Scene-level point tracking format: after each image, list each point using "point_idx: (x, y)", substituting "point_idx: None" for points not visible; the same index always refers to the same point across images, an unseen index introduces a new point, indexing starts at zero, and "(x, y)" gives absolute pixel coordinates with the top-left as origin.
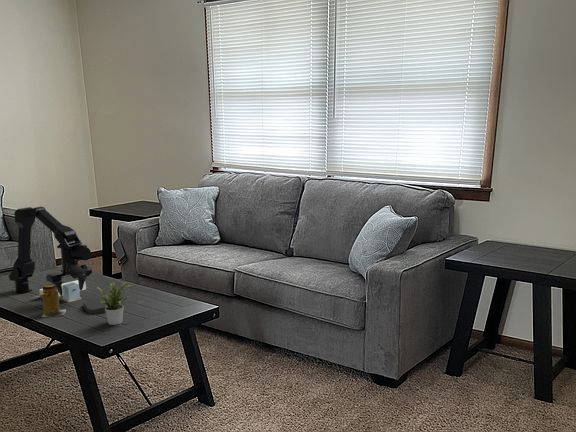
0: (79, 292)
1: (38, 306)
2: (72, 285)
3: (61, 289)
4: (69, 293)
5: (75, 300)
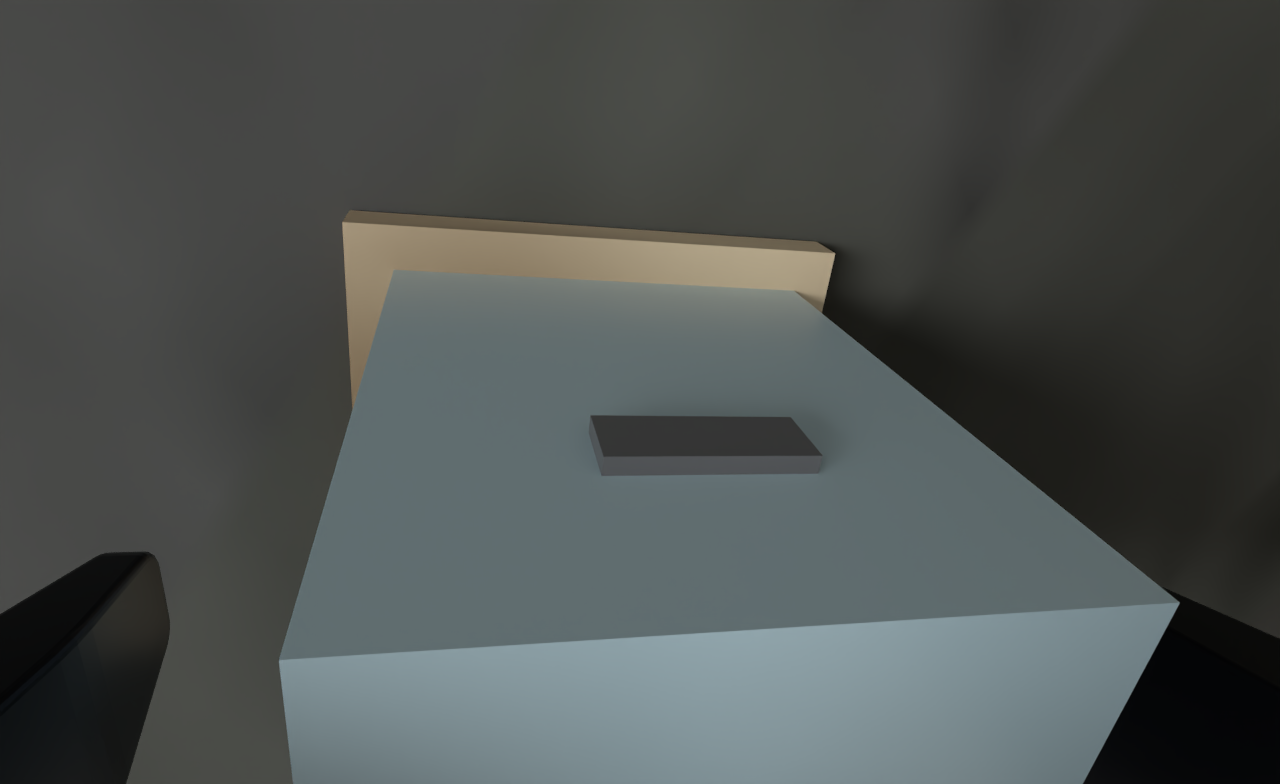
0: (373, 352)
1: (1237, 547)
2: (741, 780)
3: (1269, 672)
4: (896, 394)
5: (602, 228)
